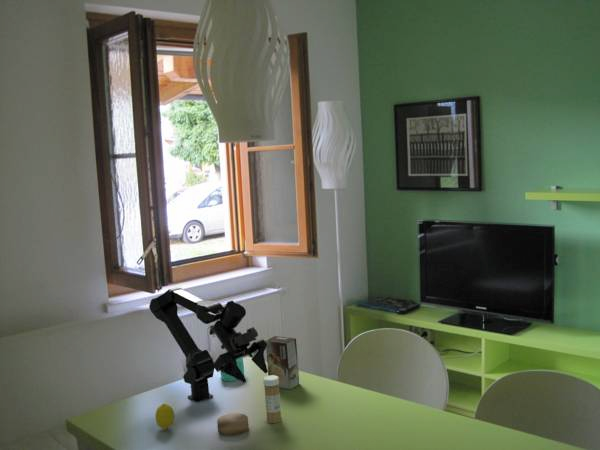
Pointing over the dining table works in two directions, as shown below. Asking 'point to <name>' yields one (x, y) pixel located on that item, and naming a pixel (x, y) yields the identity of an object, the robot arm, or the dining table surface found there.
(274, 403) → the sprinkles bottle
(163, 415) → the lemon
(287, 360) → the coffee box
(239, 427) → the walnut base
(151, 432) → the dining table surface
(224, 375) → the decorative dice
